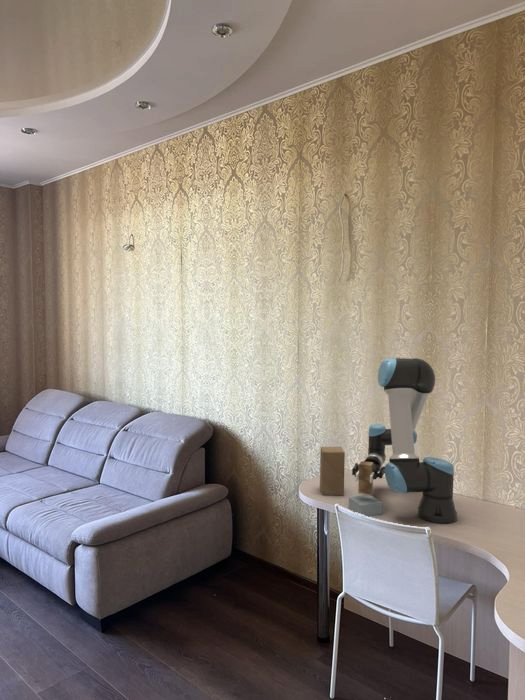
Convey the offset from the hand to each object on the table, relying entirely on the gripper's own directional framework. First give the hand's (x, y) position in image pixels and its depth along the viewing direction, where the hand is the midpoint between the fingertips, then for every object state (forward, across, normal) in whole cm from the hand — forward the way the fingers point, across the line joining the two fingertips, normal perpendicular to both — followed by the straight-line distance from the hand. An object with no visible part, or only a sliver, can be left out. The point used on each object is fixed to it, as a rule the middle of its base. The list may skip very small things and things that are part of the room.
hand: (363, 478), depth 204 cm
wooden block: (-23, +18, -16) cm, 33 cm away
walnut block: (-5, 0, -7) cm, 9 cm away
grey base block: (-5, 0, -15) cm, 16 cm away
